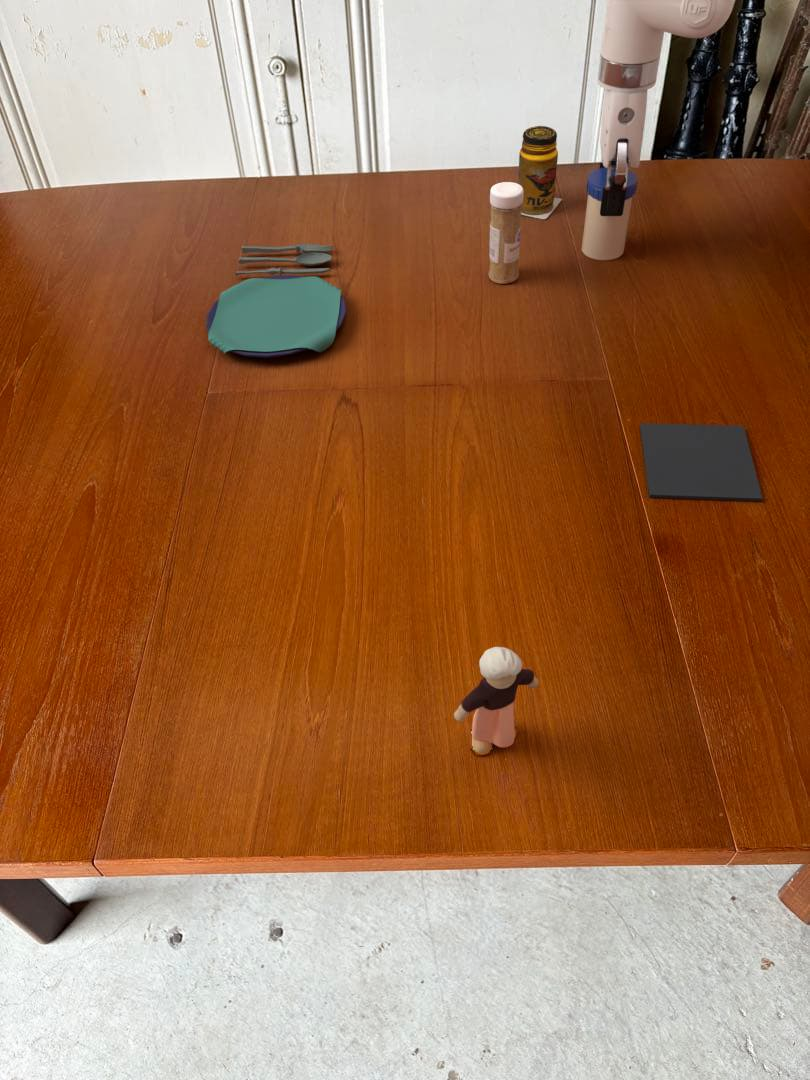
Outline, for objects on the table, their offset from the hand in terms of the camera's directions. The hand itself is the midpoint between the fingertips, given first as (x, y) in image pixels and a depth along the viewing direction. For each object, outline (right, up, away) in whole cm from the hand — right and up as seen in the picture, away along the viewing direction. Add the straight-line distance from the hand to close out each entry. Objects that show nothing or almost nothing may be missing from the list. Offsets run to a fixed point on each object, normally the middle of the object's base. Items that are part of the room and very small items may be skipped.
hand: (609, 201), depth 119 cm
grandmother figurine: (-22, -67, -47) cm, 85 cm away
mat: (+4, -41, -26) cm, 48 cm away
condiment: (-9, +6, +16) cm, 19 cm away
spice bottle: (-15, -11, +2) cm, 19 cm away
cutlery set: (-48, -15, 0) cm, 50 cm away
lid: (0, +2, -2) cm, 3 cm away
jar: (0, -5, +6) cm, 8 cm away
